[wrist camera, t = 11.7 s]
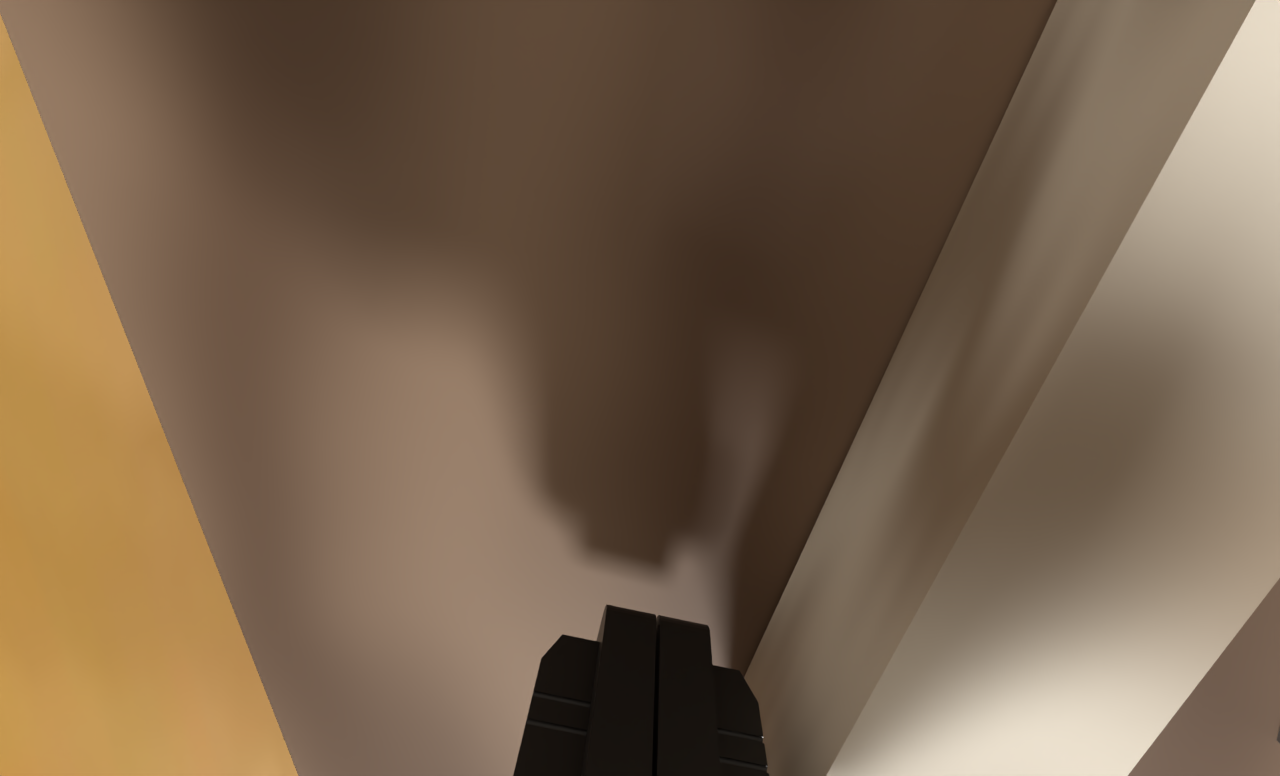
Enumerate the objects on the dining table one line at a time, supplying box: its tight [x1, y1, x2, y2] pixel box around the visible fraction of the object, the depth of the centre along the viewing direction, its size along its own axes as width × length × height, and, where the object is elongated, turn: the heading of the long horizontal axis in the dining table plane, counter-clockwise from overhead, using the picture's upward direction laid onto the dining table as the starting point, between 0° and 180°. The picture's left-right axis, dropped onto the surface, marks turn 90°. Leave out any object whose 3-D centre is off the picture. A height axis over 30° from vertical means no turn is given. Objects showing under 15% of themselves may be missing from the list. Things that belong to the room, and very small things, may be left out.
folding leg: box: [744, 0, 1280, 776], centre depth 8 cm, size 16×3×4 cm, turn 163°
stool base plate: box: [0, 0, 1280, 776], centre depth 9 cm, size 19×19×5 cm
